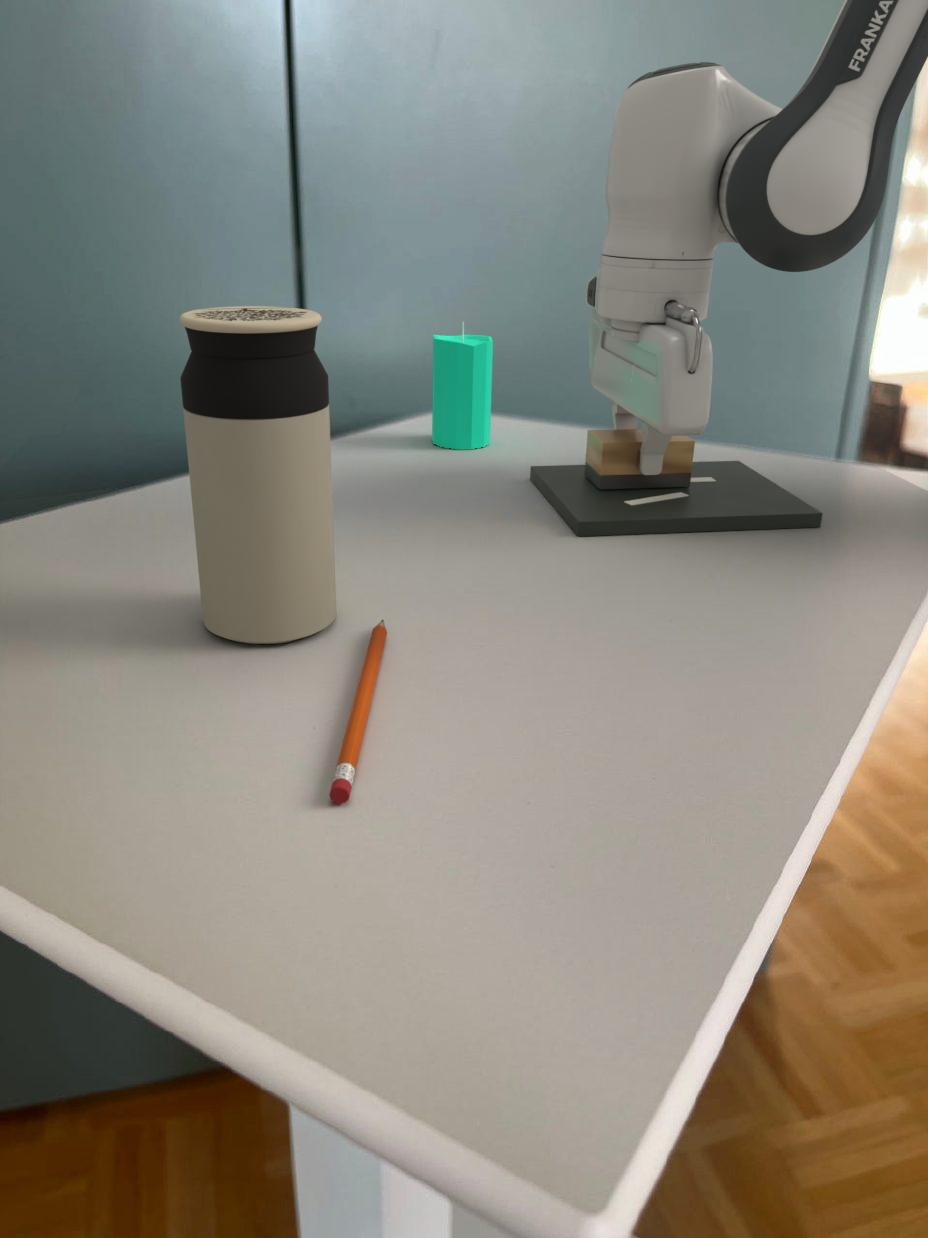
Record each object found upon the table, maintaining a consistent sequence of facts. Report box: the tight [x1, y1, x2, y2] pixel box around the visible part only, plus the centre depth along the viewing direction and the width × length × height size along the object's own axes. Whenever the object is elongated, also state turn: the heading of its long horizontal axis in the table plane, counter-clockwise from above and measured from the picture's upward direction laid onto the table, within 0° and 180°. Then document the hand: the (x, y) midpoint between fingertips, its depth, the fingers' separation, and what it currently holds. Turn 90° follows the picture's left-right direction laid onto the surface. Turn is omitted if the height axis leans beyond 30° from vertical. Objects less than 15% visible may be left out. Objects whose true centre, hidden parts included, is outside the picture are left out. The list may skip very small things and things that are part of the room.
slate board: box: [529, 460, 823, 537], centre depth 85 cm, size 20×16×1 cm
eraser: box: [584, 428, 696, 490], centre depth 85 cm, size 8×4×4 cm, turn 100°
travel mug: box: [179, 305, 337, 645], centre depth 57 cm, size 8×8×18 cm
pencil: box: [329, 619, 388, 805], centre depth 52 cm, size 1×19×1 cm, turn 179°
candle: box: [431, 321, 494, 450], centre depth 100 cm, size 6×6×12 cm
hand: (636, 463), depth 86 cm, fingers closed on eraser, 4 cm apart
